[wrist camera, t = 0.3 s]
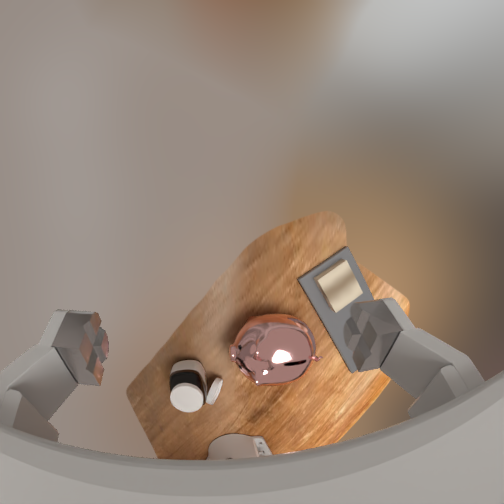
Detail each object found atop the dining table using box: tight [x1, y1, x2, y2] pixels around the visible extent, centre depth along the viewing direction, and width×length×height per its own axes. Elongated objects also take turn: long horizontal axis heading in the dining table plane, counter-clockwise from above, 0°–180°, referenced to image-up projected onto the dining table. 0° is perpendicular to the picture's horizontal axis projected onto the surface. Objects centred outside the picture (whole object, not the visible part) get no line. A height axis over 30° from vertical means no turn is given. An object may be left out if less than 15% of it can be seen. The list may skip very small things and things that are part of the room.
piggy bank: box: [229, 314, 323, 386], centre depth 56 cm, size 15×18×16 cm
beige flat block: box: [313, 259, 363, 313], centre depth 62 cm, size 9×8×3 cm
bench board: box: [297, 246, 374, 373], centre depth 65 cm, size 30×14×2 cm, turn 32°
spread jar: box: [170, 360, 223, 412], centre depth 57 cm, size 12×11×12 cm
